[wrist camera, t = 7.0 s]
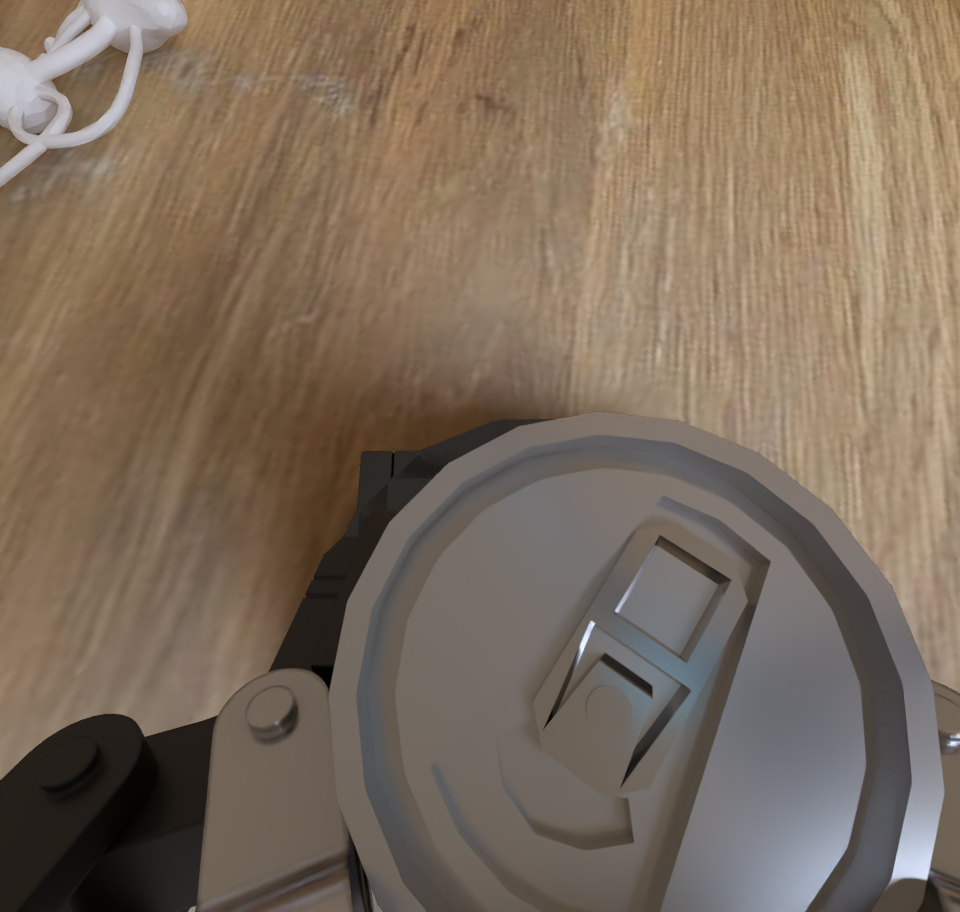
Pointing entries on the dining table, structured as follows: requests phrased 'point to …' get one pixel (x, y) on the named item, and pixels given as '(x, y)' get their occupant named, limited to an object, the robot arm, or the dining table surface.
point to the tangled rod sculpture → (28, 83)
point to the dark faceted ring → (414, 470)
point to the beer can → (631, 689)
